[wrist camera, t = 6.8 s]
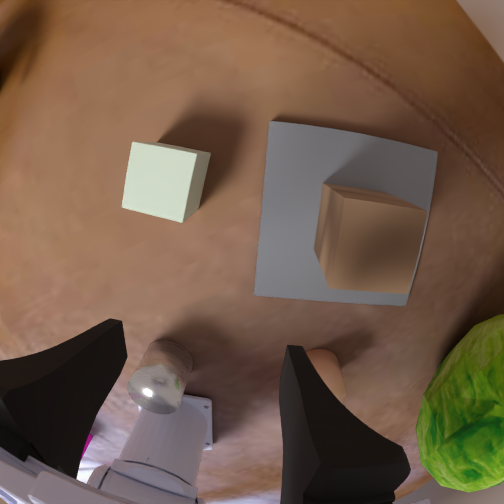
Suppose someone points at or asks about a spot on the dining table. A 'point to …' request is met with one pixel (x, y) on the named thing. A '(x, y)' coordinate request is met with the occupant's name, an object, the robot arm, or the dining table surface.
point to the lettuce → (466, 412)
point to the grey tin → (161, 377)
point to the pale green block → (165, 180)
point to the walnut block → (367, 239)
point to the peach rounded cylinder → (328, 371)
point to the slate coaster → (309, 195)
